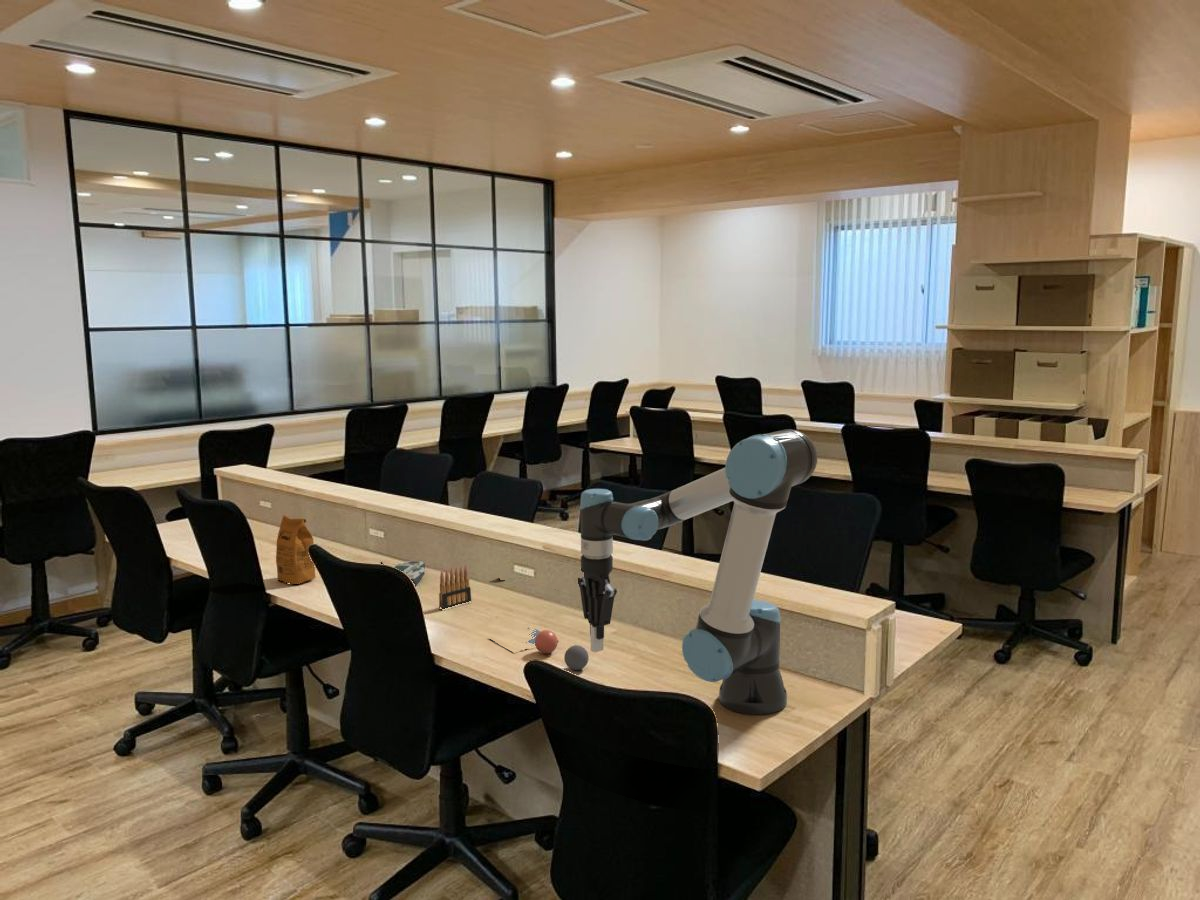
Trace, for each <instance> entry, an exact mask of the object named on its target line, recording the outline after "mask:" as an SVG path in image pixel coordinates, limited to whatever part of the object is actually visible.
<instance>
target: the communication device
mask: <svg viewBox="0 0 1200 900" xmlns="http://www.w3.org/2000/svg"><path fill="white" fill-rule="evenodd" d="M379 563H380V565H381V564H383V565H384V562H383V561H380V562H379ZM384 566H385V565H384ZM393 567H395V568H397V569H399V570H401V571H403V572H404V573H406V574H407V575H408V576H409V577H410V578H411V580H412V581H413V583H414V584H415V585H416V586H418V585H419V584H420V583H421V582H420V580H421V581H422V578H423V577H424V576H425V575H426V574H425V571H426V564H425V562H423V561H421V560H420V561H419V560H414V561H413V560H410V561H405V562H403V563H398V564H396V563H395V565H394V566H393ZM419 582H420V583H419ZM418 583H419V584H418ZM417 584H418V585H417Z"/></svg>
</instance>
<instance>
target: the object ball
mask: <svg viewBox="0 0 1200 900" xmlns="http://www.w3.org/2000/svg"><path fill="white" fill-rule="evenodd" d="M558 641H559V639H558V636H557V635H556V634H555V633H554V631H552V630H548V629H545V630H541V631H540V632H539V633H538V634H537V636H536V638H535V646H536V649H537V651H538V652H540V653H541V654H546V655H547V654H552V653H553V652H554V651H555V650H556V649H557V647H558V643H559V642H558Z"/></svg>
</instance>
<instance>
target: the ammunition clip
mask: <svg viewBox="0 0 1200 900" xmlns="http://www.w3.org/2000/svg"><path fill="white" fill-rule="evenodd" d="M444 573H445V574H444ZM471 591H472V590H471V586H470V577H469V570H468V566H467V564H465V566H464V568H463V566H462V565H461V566H460V567H459V569H458V567H455V570H454V569H453V568H451V569H450V571H448V569H446V570H445V572H444V571H443V570H440V578H439V593H438V594H439V595H438V598H439V604H438V605H439V608H440V607H441V608H442V609H445V608H448V607H452V606H455V605H458V604H462V603H466V602H469V601H471V602H472V592H471ZM439 608H438V609H439Z"/></svg>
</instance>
